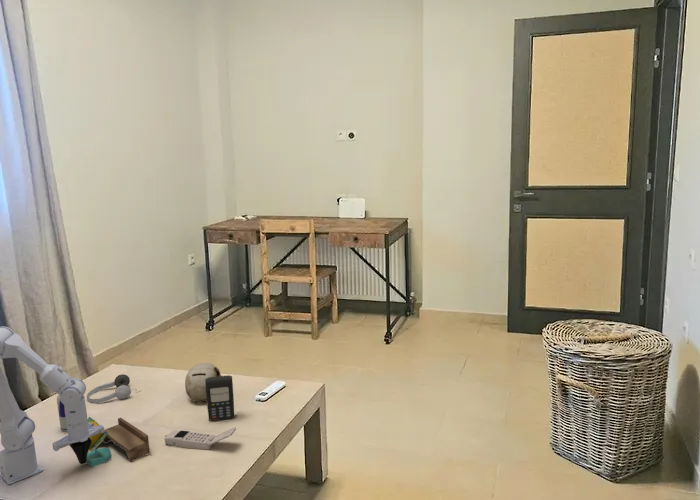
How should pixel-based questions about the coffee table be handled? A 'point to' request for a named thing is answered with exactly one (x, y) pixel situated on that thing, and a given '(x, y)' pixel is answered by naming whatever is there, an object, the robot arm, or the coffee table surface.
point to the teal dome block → (98, 456)
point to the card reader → (220, 397)
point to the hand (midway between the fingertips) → (82, 462)
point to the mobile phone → (194, 439)
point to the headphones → (120, 392)
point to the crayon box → (96, 437)
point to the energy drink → (62, 414)
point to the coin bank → (199, 380)
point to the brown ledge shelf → (128, 439)
